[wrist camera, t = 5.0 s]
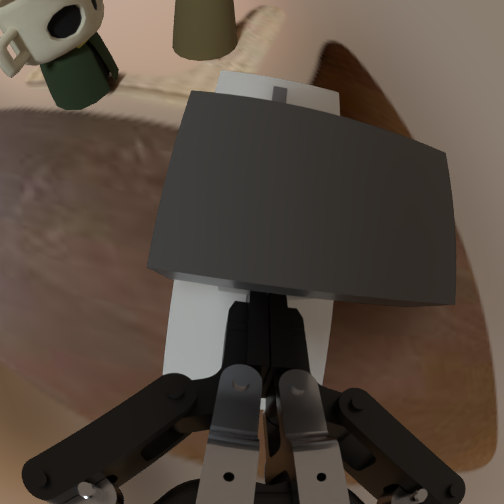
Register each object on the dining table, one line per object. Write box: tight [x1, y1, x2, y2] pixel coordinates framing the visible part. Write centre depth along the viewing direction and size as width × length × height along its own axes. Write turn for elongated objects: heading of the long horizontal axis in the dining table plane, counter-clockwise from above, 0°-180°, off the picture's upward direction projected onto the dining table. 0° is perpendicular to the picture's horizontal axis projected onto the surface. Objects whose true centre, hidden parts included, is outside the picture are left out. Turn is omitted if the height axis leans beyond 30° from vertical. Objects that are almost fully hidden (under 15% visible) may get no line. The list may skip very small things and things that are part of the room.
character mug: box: [0, 0, 119, 110], centre depth 13 cm, size 11×7×13 cm, turn 165°
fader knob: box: [147, 91, 456, 307], centre depth 10 cm, size 4×6×11 cm, turn 83°
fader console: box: [163, 70, 340, 410], centre depth 18 cm, size 22×9×2 cm, turn 173°
